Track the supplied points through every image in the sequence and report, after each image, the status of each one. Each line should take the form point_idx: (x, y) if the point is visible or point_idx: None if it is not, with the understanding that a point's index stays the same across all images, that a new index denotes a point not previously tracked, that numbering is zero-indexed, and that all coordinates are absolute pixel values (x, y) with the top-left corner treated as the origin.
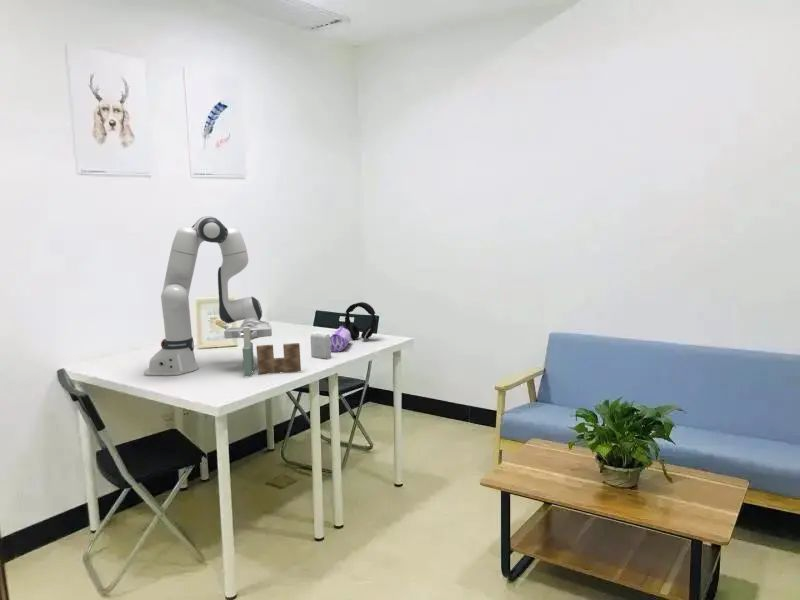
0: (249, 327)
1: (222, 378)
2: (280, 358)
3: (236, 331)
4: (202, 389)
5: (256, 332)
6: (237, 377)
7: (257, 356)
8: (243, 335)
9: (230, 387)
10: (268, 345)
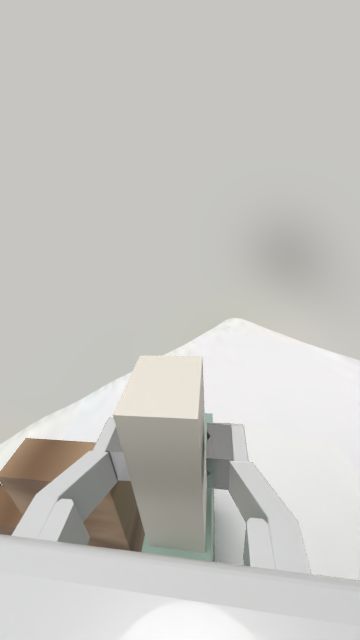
0: (125, 394)
1: (317, 514)
2: (9, 503)
3: (354, 583)
4: (320, 393)
5: (44, 498)
6: None
7: (131, 484)
8: (204, 414)
9: (240, 392)
10: (39, 457)
